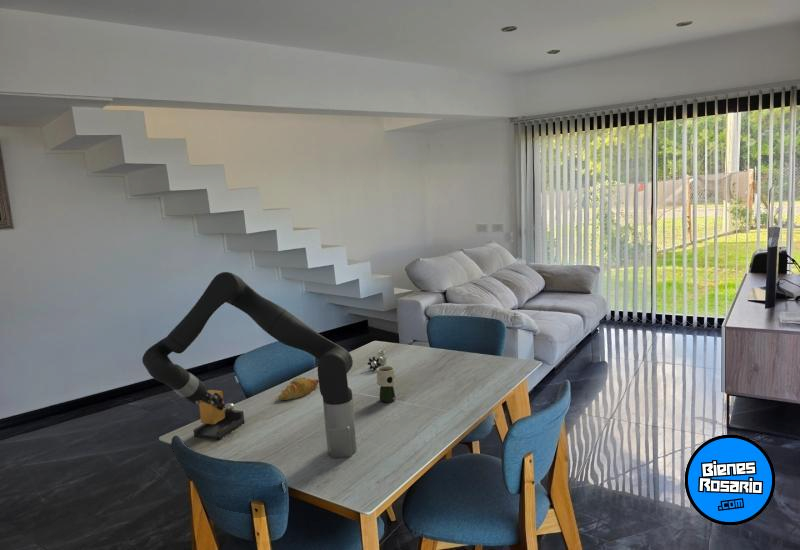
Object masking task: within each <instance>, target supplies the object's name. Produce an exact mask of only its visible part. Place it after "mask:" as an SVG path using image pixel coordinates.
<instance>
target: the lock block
mask: <svg viewBox="0 0 800 550" xmlns="http://www.w3.org/2000/svg"><path fill="white" fill-rule="evenodd" d="M207 391H209V393H211V394H213V395H214V393H217V394H218V395H219V396H220V397H221V398H222V399H223V401H222V403H223V404H224V405H225V402H224V393H223V390H217V389H216V390H215V389H209V390H207ZM211 399H212V398H210V399H209V401H210V400H211ZM209 401H208V402H209ZM213 403H214V402H213ZM198 406H199V407H198V408H199V414H200V423H201V424H204V423H206V424H216V423H217V422H219V421H221V420H222V419H224V418H225V411H224V409H225V407H224V408H223V410H219V409H218V408H217V407H215V406H213V405H208V404H206V403H204V402H200V404H199V405H198Z"/></svg>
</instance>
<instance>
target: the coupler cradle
mask: <svg viewBox="0 0 800 550" xmlns="http://www.w3.org/2000/svg"><path fill="white" fill-rule="evenodd" d="M224 411H225V418H224V419H222V420H221V421H219V422H217V423H216V424H206V423H201V424H200V425H199V426H197V427H195V428H194V429H193V436H194V438H200V439H209V440H216V441H221V440H223V437H224V438H225V437H227V436H228V435H230V434H232V433H233V432H234V431H236V430H237V429H239V428H240V427H242V426H243V425H244V424H245V415H244V410H235V408H234V403H233V402H228V403H224ZM242 424H243V425H242ZM241 425H242V426H241ZM239 426H240V427H239ZM238 427H239V428H238ZM235 429H236V430H235ZM232 431H233V432H232ZM226 435H227V436H226ZM220 439H221V440H220Z"/></svg>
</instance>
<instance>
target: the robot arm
mask: <svg viewBox="0 0 800 550" xmlns="http://www.w3.org/2000/svg"><path fill="white" fill-rule="evenodd" d="M225 303H226V304H229V305H231V306H233V307H235V308H236V309H239V310H240V311H242V313H244V314H246V315H247V316H249V317H250V318H251V319H252V320H253V322H255V324H257V325H258V326H259V328H260V329H262V330H263V331H264V332H266V333H267V334H268V335H269V336H271V337H272V338H274V339H275V340H276V341H278V342H279V343H281V344H284V345H286V346H287V347H291V348H294V349H297V350H301V351H303V352H306V353H308V354H310V355H311V356H313V357H314V358H315V359H317V360H318V363H317V377H318V378H317V380H318V381H319V382H318V386H319V387H318V388H319V392H320V395H321V396H322V404H323V415H324V425H325V426H324V427H325V437H326V446H327V447H326V450H327V454H328V455H329V456H330V457H331V459H337V458H338V459H339V458H347V457H352V456H353V454H355V453H356V452H357V441H356V439H357V438H356V429H355V428H356V427H355V426H356V424H355V414H354V402H353V401H354V400H353V399H354V398H353V391H352V389H351V388H350V387H349V382H348V375H347V374H348V373H349V371H350V370H351V369H352V367H353V362H354V360H353V356H352V355H351V353H350V352H349V351H348V350H347V349H346V348H344V347H343V346H341V345H340V344H337V343H336V342H333V341H332V340H330V339H328V338H326V337H325V336H323V335H322V334H320V333H318V332H317V331H316V330H314V329H313V328H311V327H310V326H308V325H307V324H306V323H304V322H303V321H302V320H300V318H298V317H296V316H295V315H293V314H292V313H291V312H289V311H288V310H287V309H285V308H283V307H282V306H280V305H279V304H276V303H275V302H273V301H272V300H269V299H267V298H265V297H263V296H262V295H260V294H259V293H258V292H256V291H255V289H253V288H252V287H250V285H248V284H247V283H246V282H245V281H244V280H243V279H242V278H241V277H240V276H238V275H237V274H235V273H232V272H229V271H223V272H220V273H218V274H216V275H215V276H214V277H213V278H212V280H211V282H210V283H209V284H208V285H207V287H206V289H205V290H204V291H203V293H202V295H201V296H200V298H199V299H198V300H197V302H196V303H195V304H194V306H193V307H192V308H191V309H190V310H189V311H188V313H186V315H185V316H184V317H183V318H182V319H181V320H180V322H179V323H178V324H177V325H175V327H174V328H173V329H172V330H171V331H170V332H169V333H168V335H166V336H165V337H164V338H162V339H160V340H159V341H158V342H156V343H155V344H153V345H152V346H150V347H149V348H148V349H147V350H146V351H145V352H144V354H143V356H142V358H141V359H142V361H141V362H142V364H143V366H144V368H145V369H146V370H147V373H148V374H149V375H150V376H151V378H153V379H154V380H155V381H157V382H159V383H162V384H165V385H166V386H167V387H169V388H171V389H172V390H173V391H174V392H175V393H176V394H178V395H179V396H180V397H181V398H183V399H184V400H186V401H187V402H189V403H192V404H193V405H196V404H197V405H198V406H199V404H200V402H204V403H206V404H208V405H213V406H215V407H217V408H218V409H219V410H223V408H224V409H225V403H224V404H223V403H222V401H223V402H224V398H223V399H222V398H221V397H220V396H219V395H218V394H217V393H214V395H213V394H211V393H209V391H208V390H207V388H206V385H205V382H203V381H201V380H200V379H199V378H198V377H197V376H195V374H193V373H191V372H189V371H187V370H186V369H185V368H184V367H182V366H181V365H179V364H176V363H174V362H173V361H172V360H171V359H170V357H169V355H170V354H171V353H174V354H179V355H180V354H182V353H184V352H185V351H186V350H187V349H188V348H189V347H190V346H191V344H192V343H193V342H194V341H195V340H196V339H197V338H198V336H199V335H200V334H201V333H202V332H203V330H204V328H205V326H206V325H207V323H208V321H209V319H210V318H211V317H212V315H213V314H215V312H216V311H218V309H220V307H221V306H223V305H224V304H225ZM210 398H212V399H211V400H210V401H209V399H210ZM208 401H209V402H208ZM213 402H214V403H213Z"/></svg>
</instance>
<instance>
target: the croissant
mask: <svg viewBox="0 0 800 550" xmlns="http://www.w3.org/2000/svg"><path fill="white" fill-rule="evenodd" d="M318 385H319V379H312V378H311V379H310V378H306V377H297V378H295V379H293V380H292V381H291V382H290V383H289V384H288V385H287V386H286V387H285V389H284V390H282V391H281V393H280V394H279V395H278V396H277V398H278V400H280V401H288V400H294V399H295V400H296V399H300V398H303V397H305V396H307V395H309V394H310V393H312V391H314V389H316V388H317V387H318ZM304 395H305V396H304ZM299 397H300V398H299Z"/></svg>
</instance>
